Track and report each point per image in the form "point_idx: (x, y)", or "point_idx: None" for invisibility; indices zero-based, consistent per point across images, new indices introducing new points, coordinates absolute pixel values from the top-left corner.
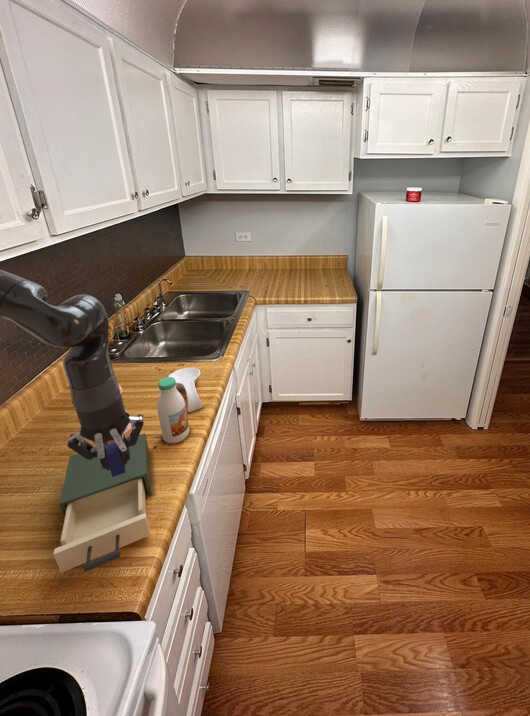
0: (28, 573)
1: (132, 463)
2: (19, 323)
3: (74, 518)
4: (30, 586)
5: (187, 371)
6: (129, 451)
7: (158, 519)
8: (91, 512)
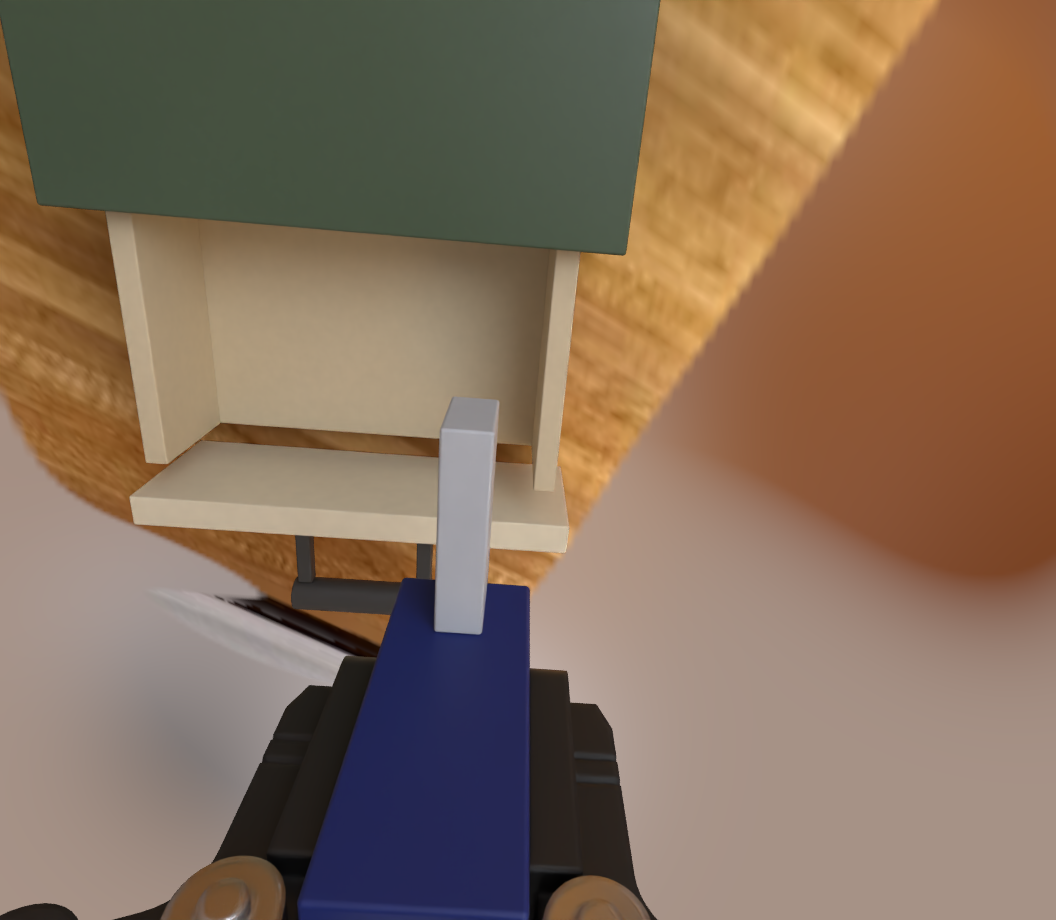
0: (62, 371)
1: (538, 66)
2: None
3: (185, 247)
4: (96, 435)
5: None
6: (616, 781)
7: (602, 409)
8: None
